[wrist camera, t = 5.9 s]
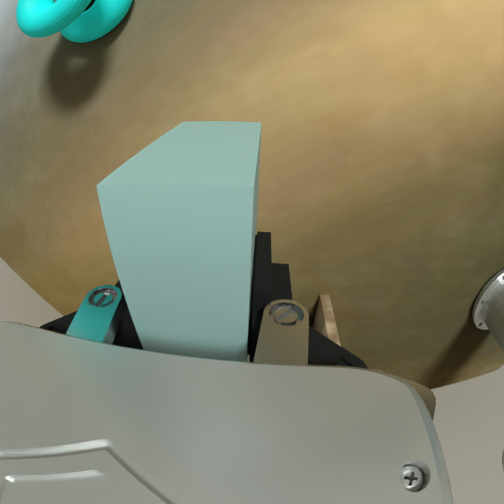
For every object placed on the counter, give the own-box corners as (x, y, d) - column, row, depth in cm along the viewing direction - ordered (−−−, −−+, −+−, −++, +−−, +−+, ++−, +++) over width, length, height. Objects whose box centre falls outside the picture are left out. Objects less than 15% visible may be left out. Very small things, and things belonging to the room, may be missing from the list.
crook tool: (414, 143, 11) (517, 222, 5) (322, 399, 23) (328, 470, 18) (183, 121, 11) (96, 185, 5) (211, 395, 24) (200, 466, 18)
